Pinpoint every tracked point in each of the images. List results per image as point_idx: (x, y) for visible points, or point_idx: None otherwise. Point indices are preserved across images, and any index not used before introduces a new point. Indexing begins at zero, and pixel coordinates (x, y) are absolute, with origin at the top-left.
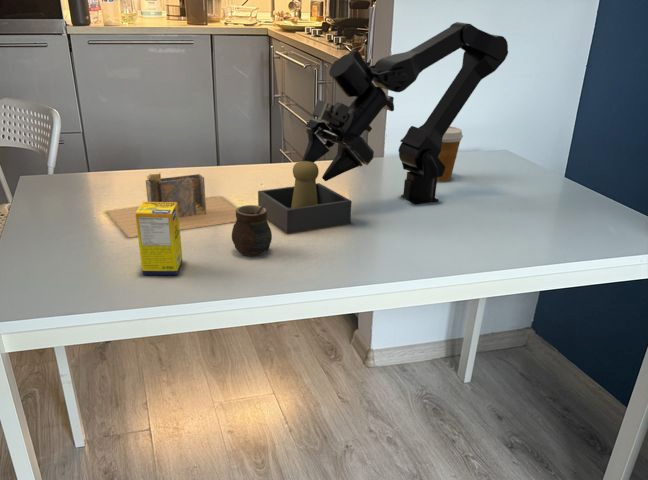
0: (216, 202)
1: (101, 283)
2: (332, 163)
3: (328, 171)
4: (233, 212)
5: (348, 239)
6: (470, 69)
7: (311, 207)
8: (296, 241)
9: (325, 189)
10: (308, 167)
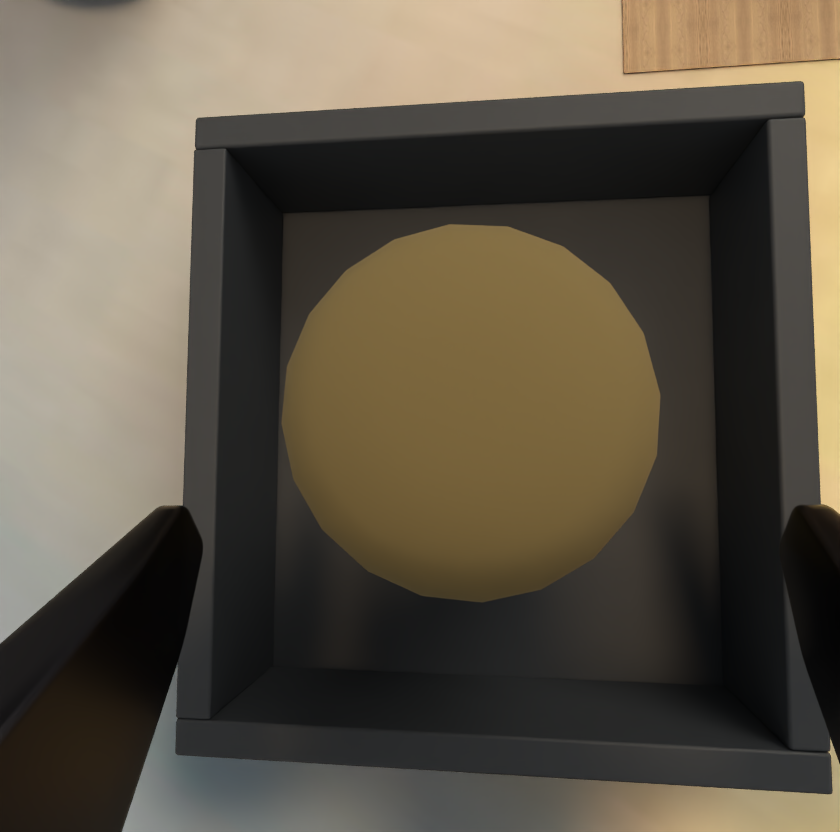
0: None
1: None
2: (2, 682)
3: (80, 581)
4: (818, 14)
5: (25, 508)
6: None
7: (190, 340)
8: (135, 199)
9: (610, 738)
10: (298, 366)
